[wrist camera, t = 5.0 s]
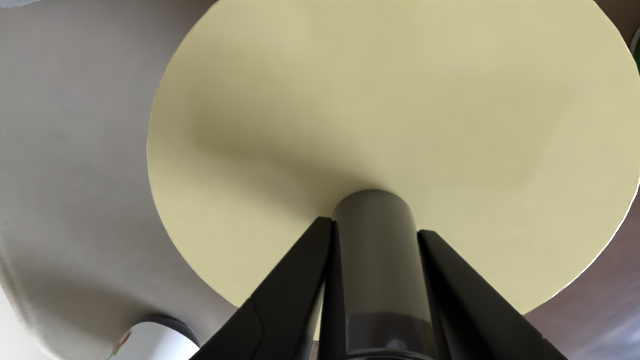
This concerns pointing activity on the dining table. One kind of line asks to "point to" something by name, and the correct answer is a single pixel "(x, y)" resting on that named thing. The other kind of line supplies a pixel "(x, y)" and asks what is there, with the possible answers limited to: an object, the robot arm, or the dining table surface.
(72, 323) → the dining table surface
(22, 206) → the dining table surface
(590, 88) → the pot lid
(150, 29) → the dining table surface
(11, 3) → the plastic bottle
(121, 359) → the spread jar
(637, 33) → the beer can
